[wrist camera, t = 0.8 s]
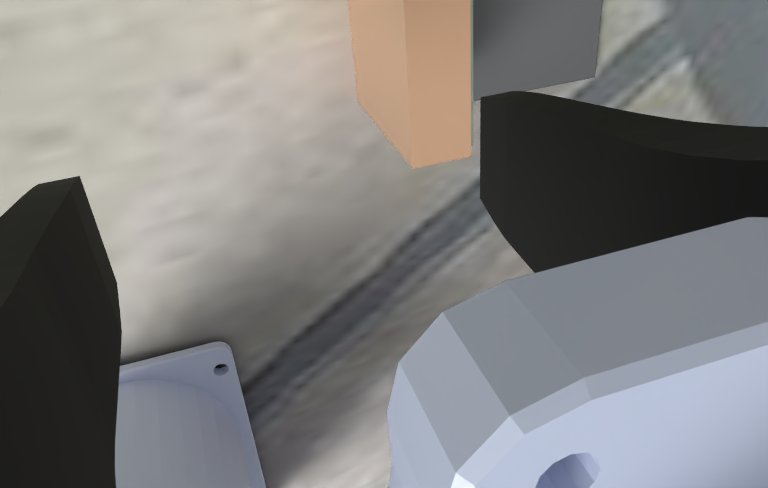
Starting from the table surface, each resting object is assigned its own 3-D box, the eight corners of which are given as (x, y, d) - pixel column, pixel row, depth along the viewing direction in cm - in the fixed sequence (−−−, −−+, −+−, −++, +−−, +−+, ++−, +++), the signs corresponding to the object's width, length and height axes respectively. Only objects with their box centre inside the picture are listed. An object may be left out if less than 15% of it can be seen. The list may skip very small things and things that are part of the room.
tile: (410, 92, 22) (476, 155, 18) (357, 102, 22) (412, 169, 18) (401, -81, 19) (476, -52, 15) (340, -73, 19) (401, -41, 15)
